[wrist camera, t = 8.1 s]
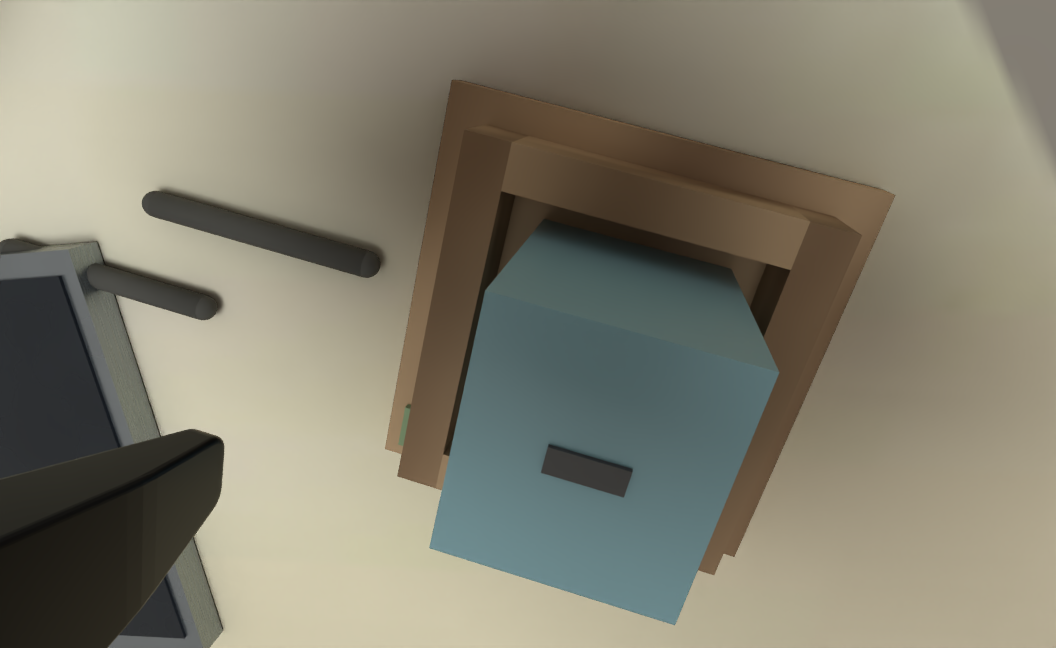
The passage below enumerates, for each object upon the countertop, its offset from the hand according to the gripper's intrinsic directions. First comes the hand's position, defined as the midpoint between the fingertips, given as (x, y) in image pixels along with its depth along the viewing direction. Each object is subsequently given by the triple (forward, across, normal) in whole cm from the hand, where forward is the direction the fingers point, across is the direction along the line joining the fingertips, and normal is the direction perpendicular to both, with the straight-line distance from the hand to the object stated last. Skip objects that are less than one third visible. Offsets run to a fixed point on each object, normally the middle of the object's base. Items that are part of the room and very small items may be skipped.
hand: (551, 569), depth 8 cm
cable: (+10, +12, +2) cm, 15 cm away
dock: (+10, 0, 0) cm, 10 cm away
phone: (+10, +15, +10) cm, 20 cm away
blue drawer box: (+9, 0, 0) cm, 9 cm away
